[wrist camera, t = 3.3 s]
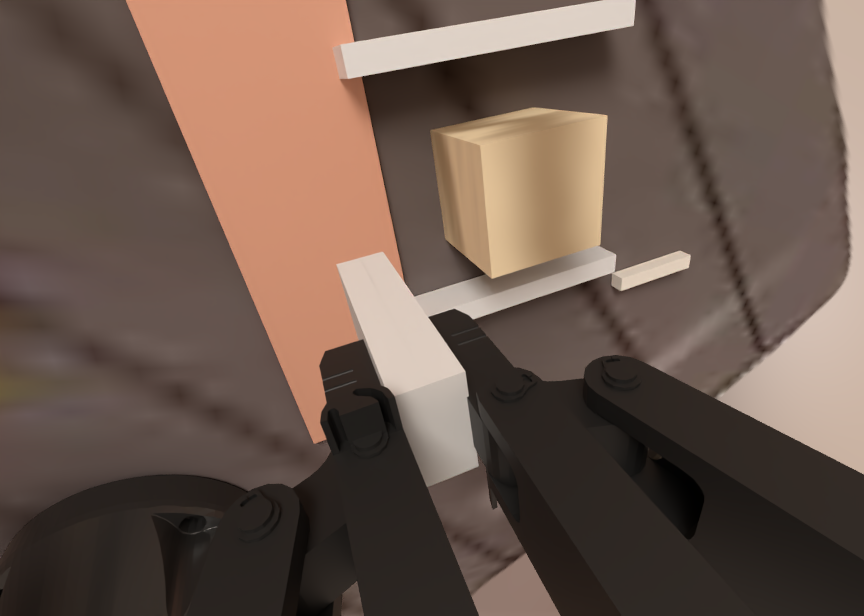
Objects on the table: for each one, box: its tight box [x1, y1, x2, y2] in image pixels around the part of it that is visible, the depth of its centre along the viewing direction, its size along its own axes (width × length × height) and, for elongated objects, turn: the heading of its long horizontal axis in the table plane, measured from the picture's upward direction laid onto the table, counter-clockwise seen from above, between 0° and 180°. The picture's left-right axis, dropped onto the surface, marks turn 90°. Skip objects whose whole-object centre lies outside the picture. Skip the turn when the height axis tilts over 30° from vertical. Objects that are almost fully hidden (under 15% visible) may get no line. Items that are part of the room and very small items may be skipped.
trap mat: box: [126, 0, 404, 444], centre depth 22 cm, size 8×28×1 cm, turn 9°
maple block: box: [430, 107, 607, 279], centre depth 22 cm, size 6×6×6 cm
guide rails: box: [333, 0, 636, 319], centre depth 23 cm, size 14×14×2 cm
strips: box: [611, 251, 691, 291], centre depth 26 cm, size 6×20×1 cm, turn 9°
